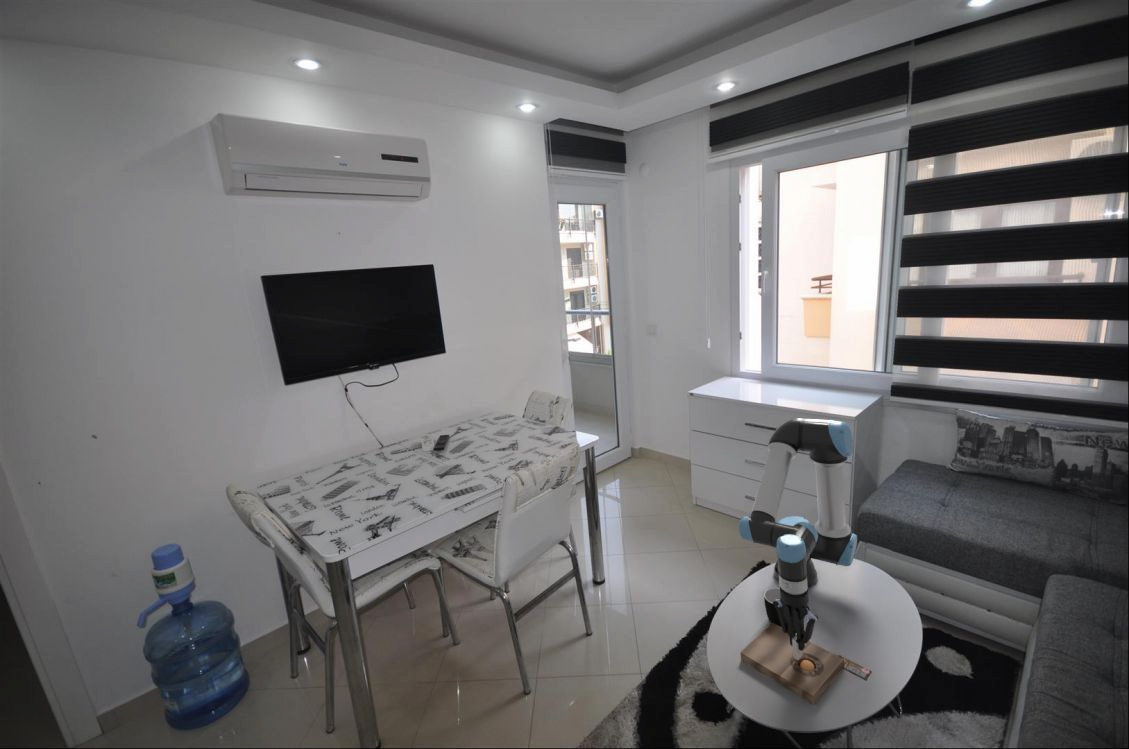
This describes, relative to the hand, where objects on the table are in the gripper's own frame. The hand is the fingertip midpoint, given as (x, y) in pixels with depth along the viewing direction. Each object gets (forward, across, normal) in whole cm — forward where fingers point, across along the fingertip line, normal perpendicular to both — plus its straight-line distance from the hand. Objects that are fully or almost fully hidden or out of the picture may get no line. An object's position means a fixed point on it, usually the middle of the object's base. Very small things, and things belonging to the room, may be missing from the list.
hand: (798, 656), depth 149 cm
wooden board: (+4, -2, 0) cm, 5 cm away
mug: (+4, -14, +16) cm, 21 cm away
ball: (+2, +3, 0) cm, 3 cm away
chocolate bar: (+5, +11, +11) cm, 16 cm away
